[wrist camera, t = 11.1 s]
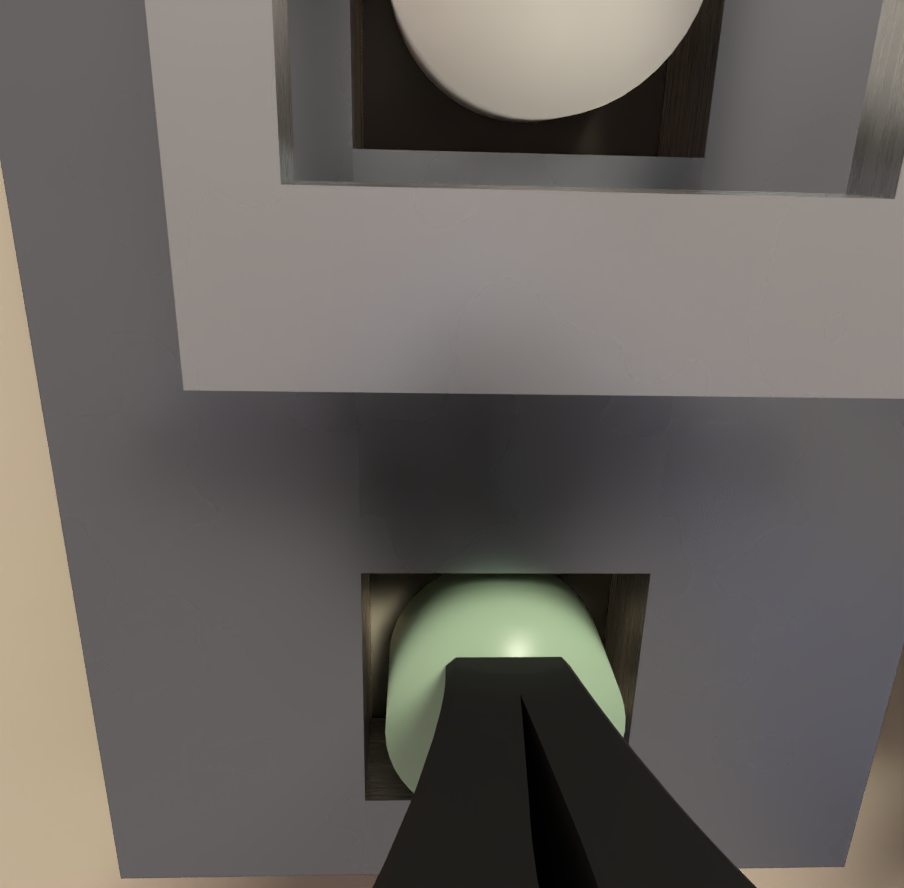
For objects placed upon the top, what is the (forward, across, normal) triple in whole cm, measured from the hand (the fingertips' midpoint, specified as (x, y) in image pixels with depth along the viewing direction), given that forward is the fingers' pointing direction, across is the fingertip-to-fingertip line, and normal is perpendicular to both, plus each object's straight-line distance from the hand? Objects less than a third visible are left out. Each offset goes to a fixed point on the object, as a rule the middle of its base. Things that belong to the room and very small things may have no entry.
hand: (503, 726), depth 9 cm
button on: (+1, 0, 0) cm, 1 cm away
